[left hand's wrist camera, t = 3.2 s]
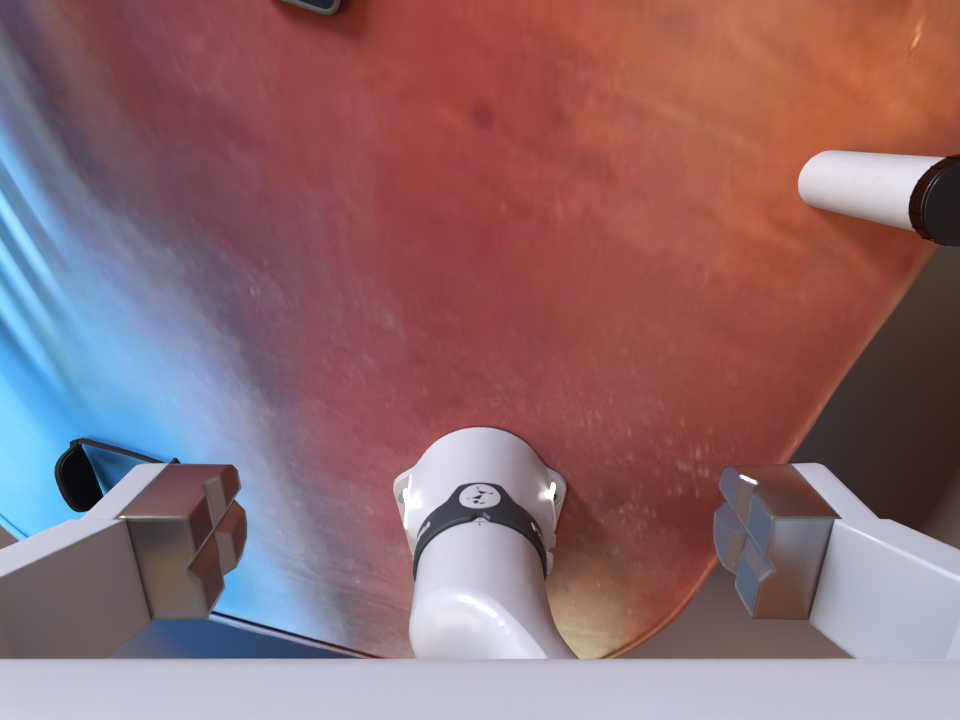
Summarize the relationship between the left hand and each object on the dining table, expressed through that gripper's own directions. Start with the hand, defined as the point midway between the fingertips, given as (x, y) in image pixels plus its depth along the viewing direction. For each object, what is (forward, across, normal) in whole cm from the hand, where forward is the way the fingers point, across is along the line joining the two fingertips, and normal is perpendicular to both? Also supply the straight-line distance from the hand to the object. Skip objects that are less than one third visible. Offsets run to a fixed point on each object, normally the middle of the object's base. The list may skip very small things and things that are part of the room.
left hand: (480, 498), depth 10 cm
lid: (+31, +31, +1) cm, 44 cm away
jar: (+48, +31, +1) cm, 57 cm away
